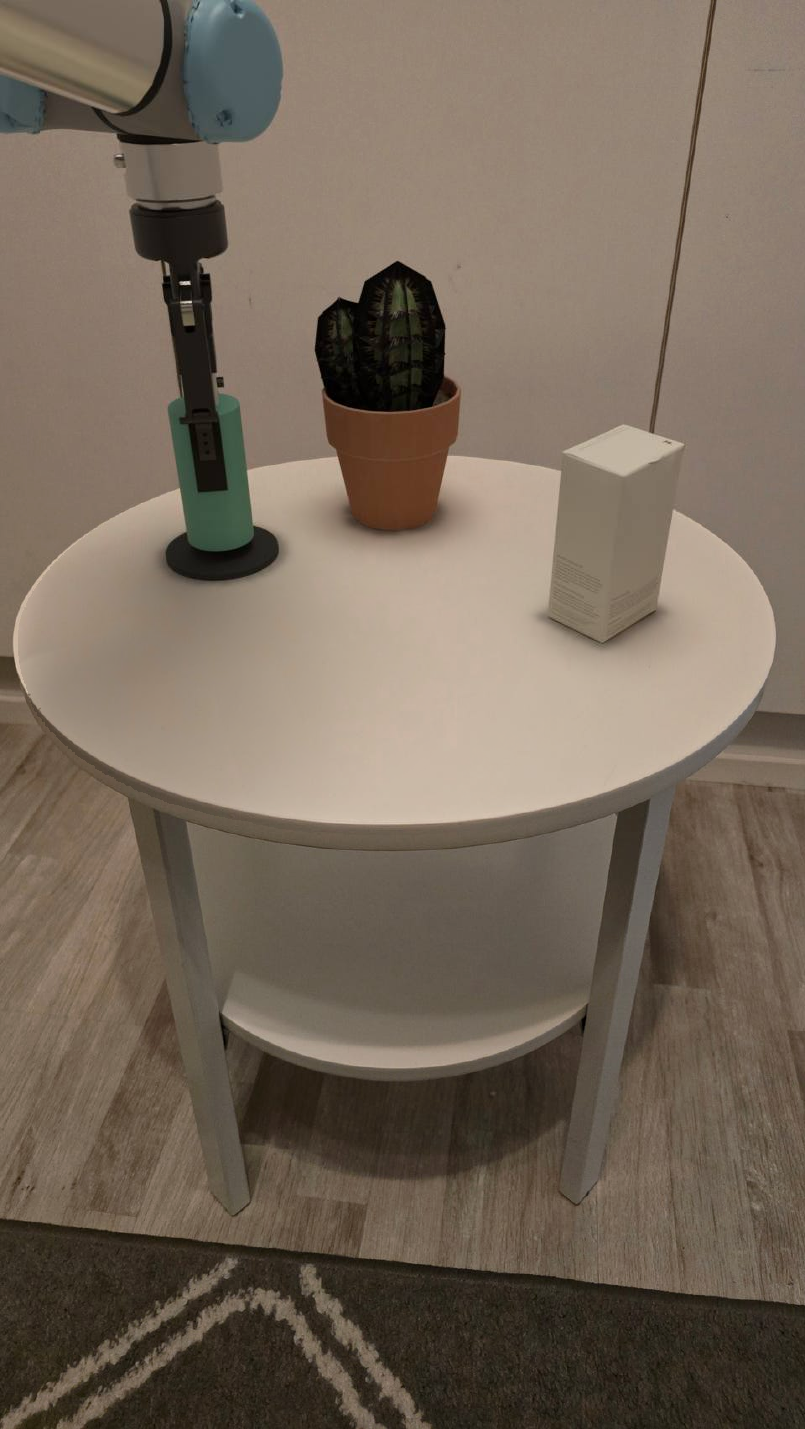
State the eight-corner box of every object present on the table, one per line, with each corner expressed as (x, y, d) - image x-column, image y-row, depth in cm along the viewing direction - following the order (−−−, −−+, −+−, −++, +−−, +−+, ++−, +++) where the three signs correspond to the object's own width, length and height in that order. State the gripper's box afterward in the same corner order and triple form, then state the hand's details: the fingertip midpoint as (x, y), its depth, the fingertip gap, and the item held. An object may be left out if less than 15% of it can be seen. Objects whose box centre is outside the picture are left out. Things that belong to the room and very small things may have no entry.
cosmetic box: (603, 585, 91) (623, 421, 82) (662, 612, 87) (691, 442, 78) (543, 618, 87) (558, 447, 77) (603, 647, 83) (626, 472, 73)
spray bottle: (188, 524, 98) (154, 306, 86) (252, 519, 99) (228, 302, 86) (187, 559, 92) (150, 330, 80) (255, 553, 93) (230, 325, 81)
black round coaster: (164, 585, 92) (163, 579, 92) (167, 532, 101) (166, 527, 100) (282, 574, 93) (281, 569, 93) (275, 524, 102) (274, 518, 102)
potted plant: (432, 478, 111) (434, 237, 96) (477, 530, 100) (487, 267, 85) (315, 496, 108) (298, 248, 93) (348, 550, 97) (335, 281, 82)
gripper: (134, 182, 85) (174, 439, 99) (119, 226, 70) (169, 522, 84) (221, 179, 86) (249, 433, 100) (225, 222, 71) (257, 515, 85)
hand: (212, 473), depth 92 cm, fingers closed on spray bottle, 6 cm apart
